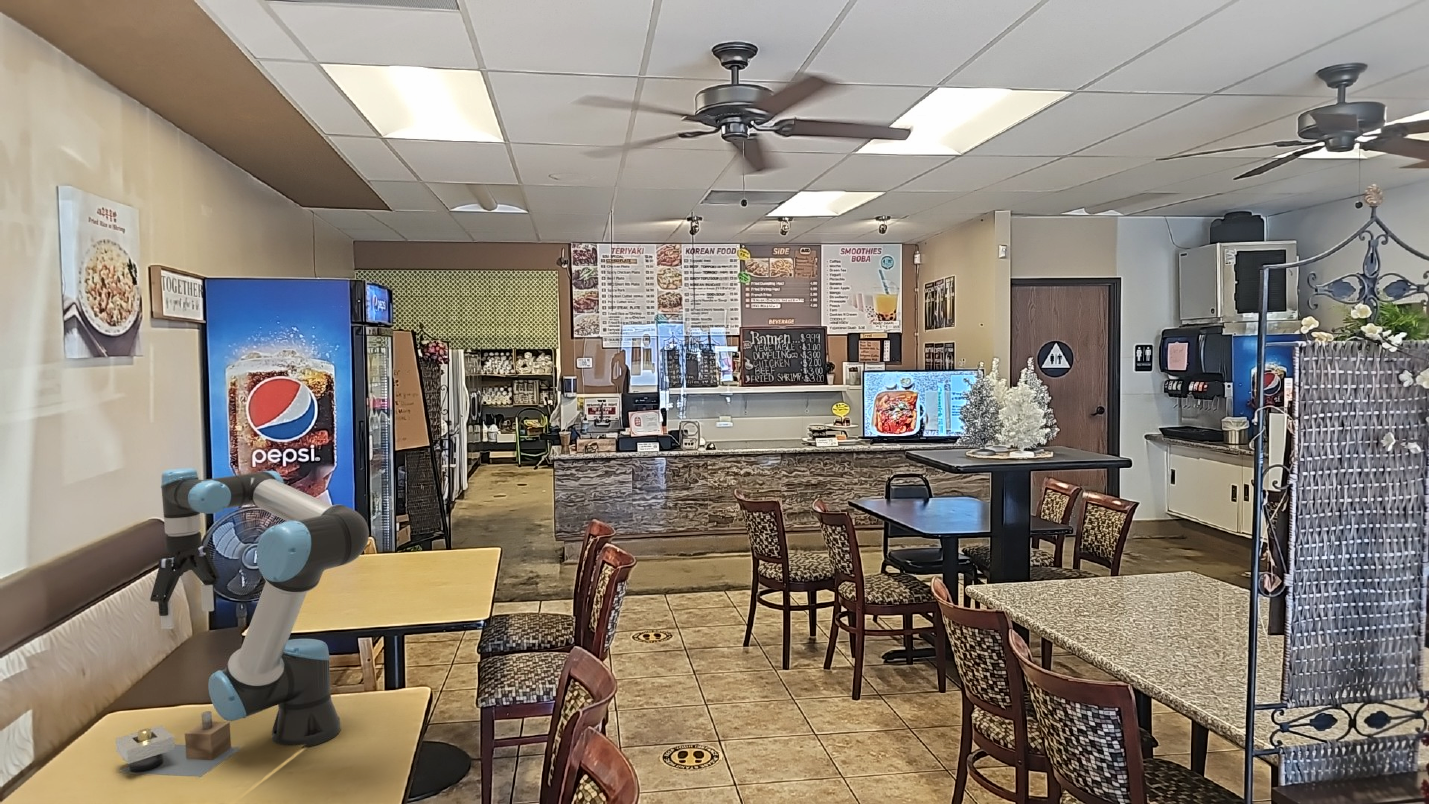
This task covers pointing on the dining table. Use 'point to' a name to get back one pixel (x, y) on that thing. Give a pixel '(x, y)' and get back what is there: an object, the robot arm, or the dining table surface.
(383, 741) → the dining table surface
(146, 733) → the hub
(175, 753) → the board
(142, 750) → the silver square ring
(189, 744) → the stand
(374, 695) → the dining table surface
